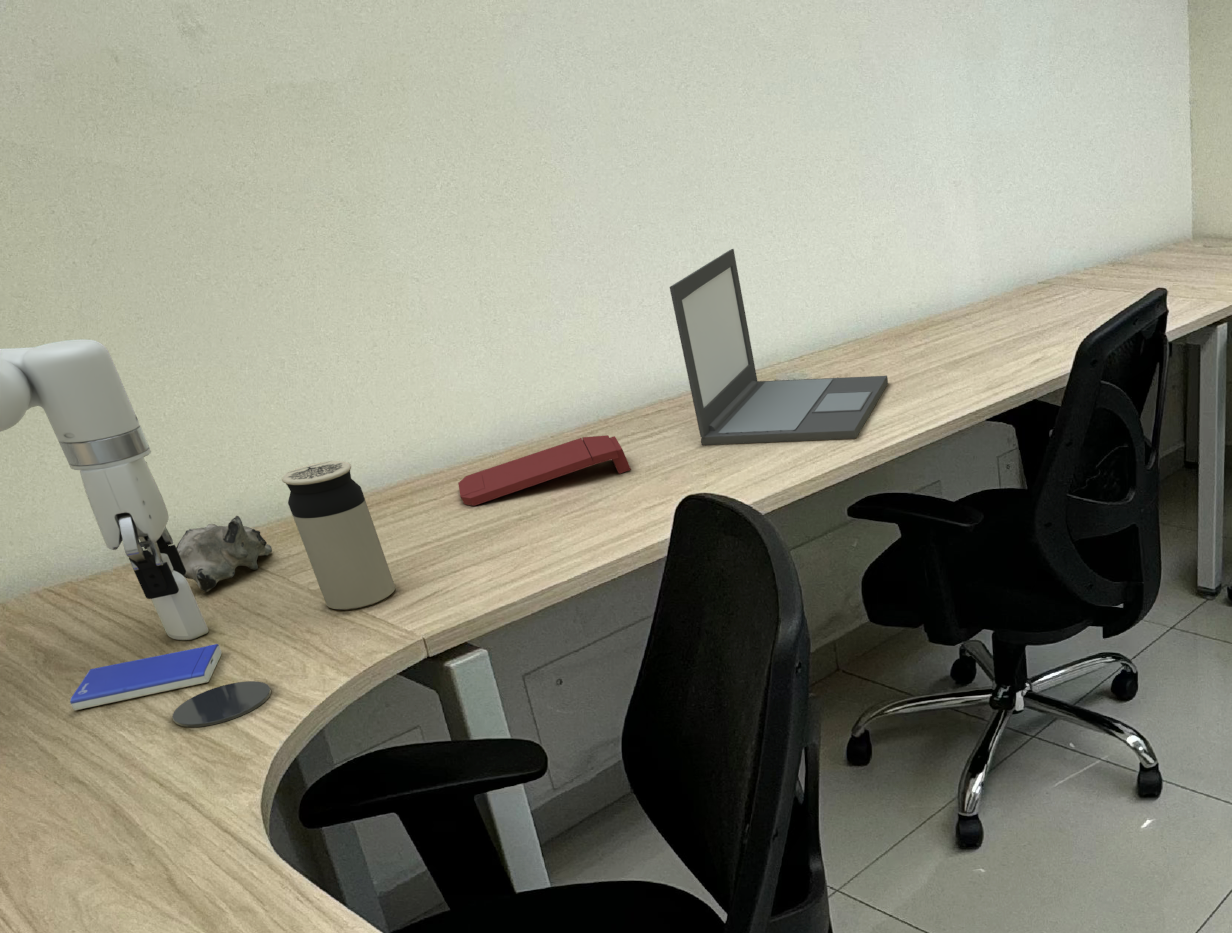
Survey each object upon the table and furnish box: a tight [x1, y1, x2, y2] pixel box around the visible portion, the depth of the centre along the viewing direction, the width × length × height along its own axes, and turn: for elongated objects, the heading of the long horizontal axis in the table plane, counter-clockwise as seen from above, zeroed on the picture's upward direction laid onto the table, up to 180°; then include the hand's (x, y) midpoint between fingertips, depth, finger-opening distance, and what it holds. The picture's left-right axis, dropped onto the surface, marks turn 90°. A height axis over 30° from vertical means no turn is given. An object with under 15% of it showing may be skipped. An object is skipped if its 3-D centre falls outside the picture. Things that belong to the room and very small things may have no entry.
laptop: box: [669, 248, 889, 446], centre depth 213 cm, size 35×28×28 cm
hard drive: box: [69, 643, 223, 711], centre depth 133 cm, size 2×8×12 cm
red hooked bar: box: [457, 434, 632, 506], centre depth 190 cm, size 12×5×25 cm
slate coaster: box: [172, 680, 272, 728], centre depth 128 cm, size 9×9×1 cm
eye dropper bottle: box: [146, 547, 209, 641], centre depth 142 cm, size 4×6×12 cm
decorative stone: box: [176, 515, 273, 593], centre depth 159 cm, size 16×9×10 cm, turn 23°
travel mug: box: [281, 460, 396, 611], centre depth 148 cm, size 8×8×18 cm
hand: (166, 584), depth 141 cm, fingers closed on eye dropper bottle, 5 cm apart
